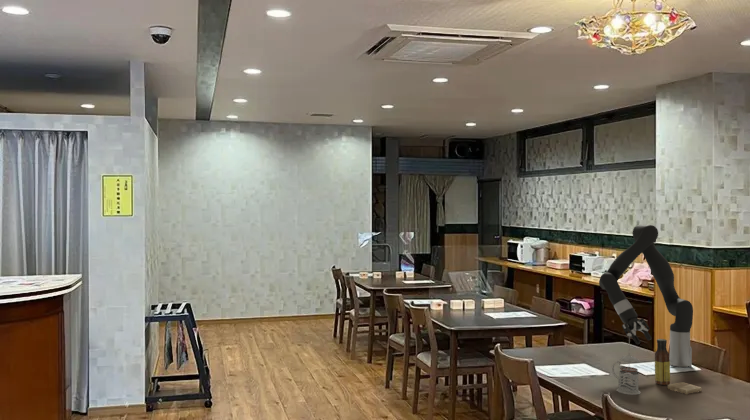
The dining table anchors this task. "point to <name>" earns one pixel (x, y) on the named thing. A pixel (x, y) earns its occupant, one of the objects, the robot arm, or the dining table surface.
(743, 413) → the dining table surface
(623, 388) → the french press
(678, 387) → the tile
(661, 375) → the sauce bottle
